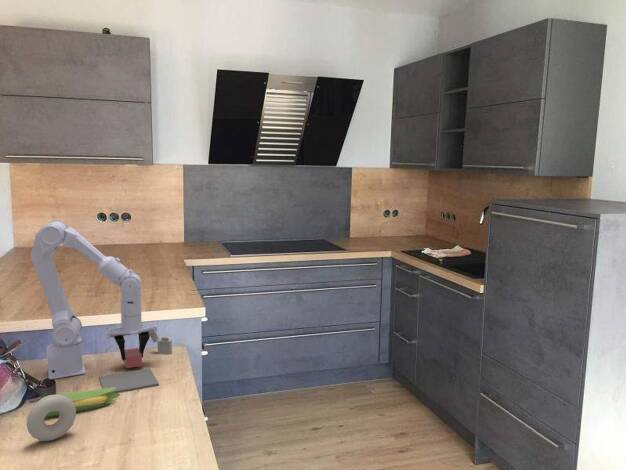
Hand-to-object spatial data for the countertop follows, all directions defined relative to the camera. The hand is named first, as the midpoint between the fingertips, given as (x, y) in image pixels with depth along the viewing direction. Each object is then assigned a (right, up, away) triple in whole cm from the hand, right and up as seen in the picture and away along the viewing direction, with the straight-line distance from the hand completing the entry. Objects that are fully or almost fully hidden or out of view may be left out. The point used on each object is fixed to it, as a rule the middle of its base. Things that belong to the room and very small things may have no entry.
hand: (132, 358), depth 154 cm
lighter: (+5, -2, +12) cm, 13 cm away
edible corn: (-3, -7, -27) cm, 28 cm away
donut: (-3, -8, -41) cm, 42 cm away
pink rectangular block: (0, -2, 0) cm, 2 cm away
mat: (+3, -4, -11) cm, 12 cm away
